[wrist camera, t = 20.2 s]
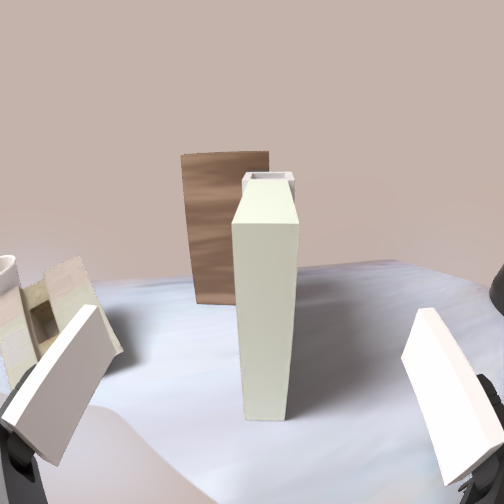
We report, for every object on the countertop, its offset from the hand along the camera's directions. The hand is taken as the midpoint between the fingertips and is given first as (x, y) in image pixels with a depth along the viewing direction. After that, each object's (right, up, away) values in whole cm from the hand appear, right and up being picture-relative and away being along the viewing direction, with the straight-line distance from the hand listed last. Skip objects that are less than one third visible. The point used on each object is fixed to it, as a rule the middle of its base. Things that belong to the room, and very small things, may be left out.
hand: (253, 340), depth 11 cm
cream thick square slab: (+2, -8, +19) cm, 21 cm away
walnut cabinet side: (-2, -4, +27) cm, 28 cm away
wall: (-24, -10, +18) cm, 32 cm away
